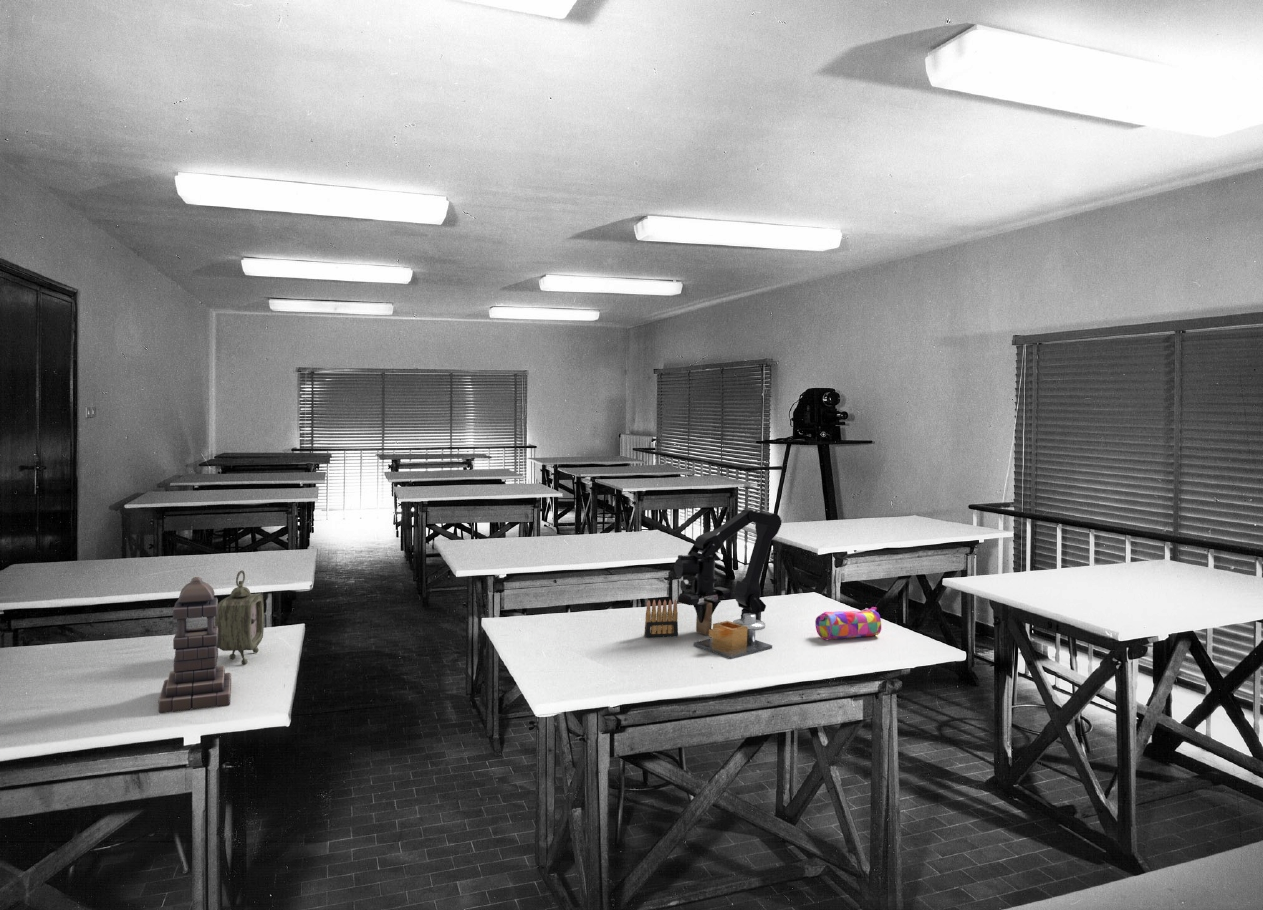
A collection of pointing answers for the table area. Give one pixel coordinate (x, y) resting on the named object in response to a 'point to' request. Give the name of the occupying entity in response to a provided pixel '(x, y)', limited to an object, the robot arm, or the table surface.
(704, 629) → the wedge
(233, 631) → the tabletop clock
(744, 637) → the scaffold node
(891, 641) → the table surface
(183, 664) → the miniature tower
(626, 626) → the table surface
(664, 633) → the ammunition clip
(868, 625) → the pencil case
